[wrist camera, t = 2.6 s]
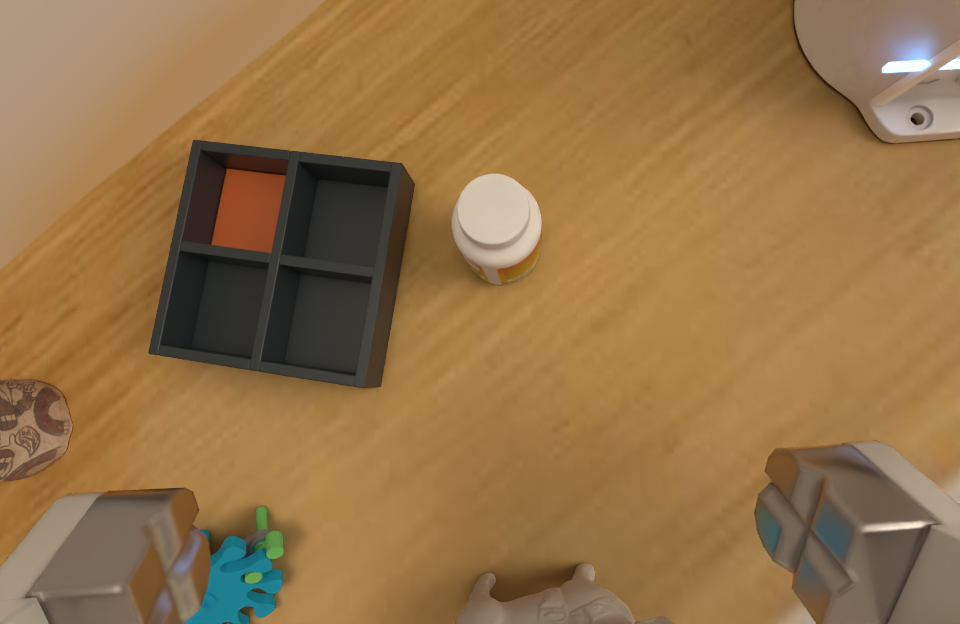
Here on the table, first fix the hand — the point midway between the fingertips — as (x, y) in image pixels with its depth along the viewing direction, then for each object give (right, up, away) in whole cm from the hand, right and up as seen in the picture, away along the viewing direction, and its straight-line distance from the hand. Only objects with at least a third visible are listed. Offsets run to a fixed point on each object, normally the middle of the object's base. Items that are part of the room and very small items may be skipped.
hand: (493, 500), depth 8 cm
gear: (-17, -15, +31) cm, 39 cm away
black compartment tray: (-13, +6, +33) cm, 36 cm away
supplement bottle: (+1, +7, +32) cm, 33 cm away
